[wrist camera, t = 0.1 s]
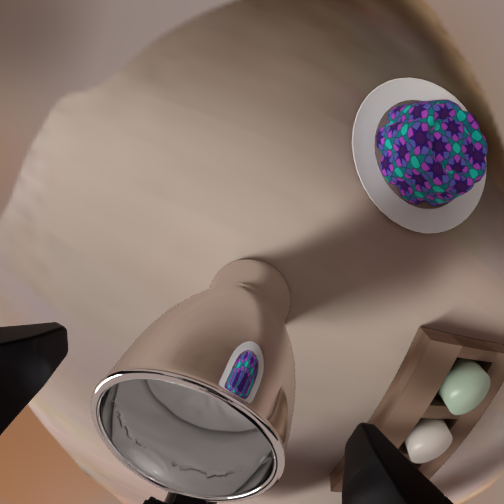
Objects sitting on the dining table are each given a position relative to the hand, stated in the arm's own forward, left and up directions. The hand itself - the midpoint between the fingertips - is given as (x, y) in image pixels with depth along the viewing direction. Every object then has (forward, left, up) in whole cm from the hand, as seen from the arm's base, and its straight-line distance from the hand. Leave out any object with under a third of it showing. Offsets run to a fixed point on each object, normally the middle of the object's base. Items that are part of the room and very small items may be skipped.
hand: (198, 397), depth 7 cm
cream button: (-11, -20, -13) cm, 26 cm away
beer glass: (-2, 0, -15) cm, 15 cm away
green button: (-5, -20, -13) cm, 24 cm away
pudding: (+12, -10, -15) cm, 22 cm away
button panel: (-11, -20, -15) cm, 27 cm away
